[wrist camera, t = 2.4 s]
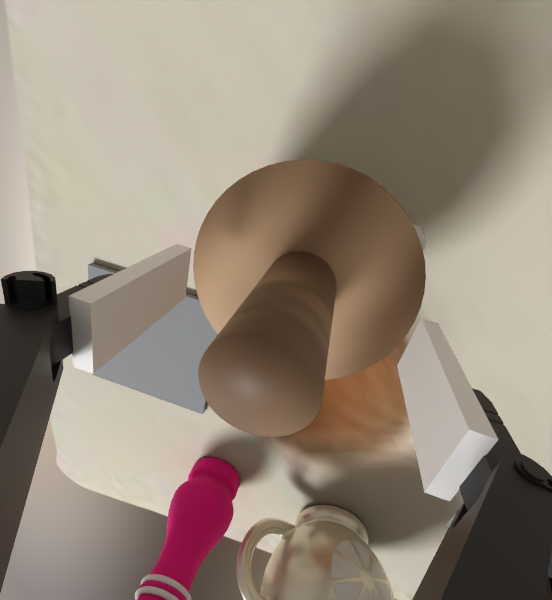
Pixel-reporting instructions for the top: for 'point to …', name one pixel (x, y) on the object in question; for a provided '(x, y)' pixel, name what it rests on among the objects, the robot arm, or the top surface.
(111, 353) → the robot arm
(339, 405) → the top surface
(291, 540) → the teapot
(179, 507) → the pepper mill
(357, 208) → the lid
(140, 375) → the mat
